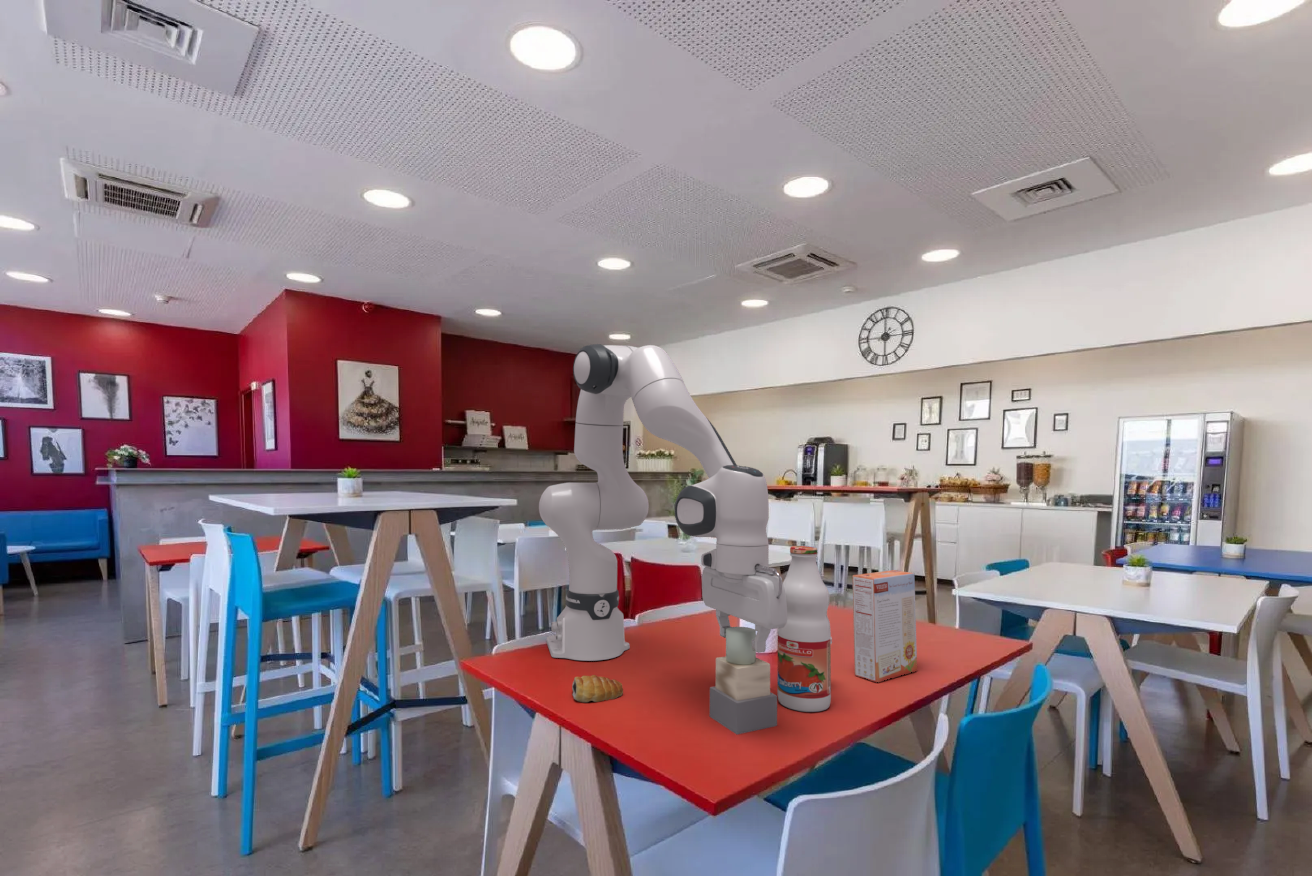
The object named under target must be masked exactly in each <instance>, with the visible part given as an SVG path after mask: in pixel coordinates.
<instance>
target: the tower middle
mask: <svg viewBox="0 0 1312 876" xmlns="http://www.w3.org/2000/svg"><path fill="white" fill-rule="evenodd" d="M715 686H716V688H717V689H718V690H720V691H722V692H723V693H725V694H727V695H728V696H730V697H732V698H733V699H735V700H737V701H739V700H745V699H750V698H756V697H761V696H767V695H770V692H771V663H769V662H767V661H764V660H763V659H761V658H758V657H756V662H755V663H753V664H748V665H739V664H733V663H729V662H727V661H726V656H719V657H715Z"/></svg>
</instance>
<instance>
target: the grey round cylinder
mask: <svg viewBox="0 0 1312 876" xmlns="http://www.w3.org/2000/svg"><path fill="white" fill-rule="evenodd" d="M756 634H757V631H755V628H752V627H748V626H747V627H746V626H731V627H729V628H727V629H726V638H725V657H726V661H727V662H729V663H733V664H739V665H748V664H753V663H755V662H756V658H757V652H755V651H753V650H752V648H751V647H752V644H751V643H752V640H753V639H755V637H756Z"/></svg>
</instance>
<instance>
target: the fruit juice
mask: <svg viewBox="0 0 1312 876" xmlns="http://www.w3.org/2000/svg"><path fill="white" fill-rule="evenodd" d="M789 553H790V554H789V555H790V557H791V561H790V564H789V567H788V570H787V573H786V575H785V578H784V579H783V581H782V583H783V585H784V588H785V594H786V603H787V623H786V625H785V626H784V627H783V628H777V629H776V630H777V633H776V634H777V701H778V703H779V704H780V705H782V706H783V707H784V708H788V709H789V710H793V711H798V712H802V713H803V712H806V713H816V712H822V711H826V710H828V708H829V707H830V705H831V702H832V701H831V700H832V691H831V689H832V685H831V684H832V677H831V676H832V673H831V670H832V666H831V656H832V655H831V649H832V648H831V646H832V644H831V637H832V636H831V635H832V634H831V623H830V619H829V617H828V610H829V609H828V608H829V606H830V601H831V600H830V593H829V592H830V591H829V590H828V588H827V586H826V584H825V583H824V581H823V579H822V576H821V573H820V569H819V566H818V564H817V557H818V548H817V547H815V546H810V545H809V546H808V545H792V546H790V548H789Z"/></svg>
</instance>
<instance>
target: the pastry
mask: <svg viewBox="0 0 1312 876" xmlns="http://www.w3.org/2000/svg"><path fill="white" fill-rule="evenodd" d="M571 689H572V696H573V699H574V700H575V701H577V702H579V703H589V702H591V701H592V702H594V703H599V702H605V701H604V700H606V701H610V700H609V699H611V700H615V699H617V698H618V697H621V696H623V694H624V687H623V684H622V682H620V681H618V680H617V679H610V678H609V677H605V676H598V675H596V674H592V675H582V676H581V677H580V676H575V677H574V680H573V681H572V688H571Z"/></svg>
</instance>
